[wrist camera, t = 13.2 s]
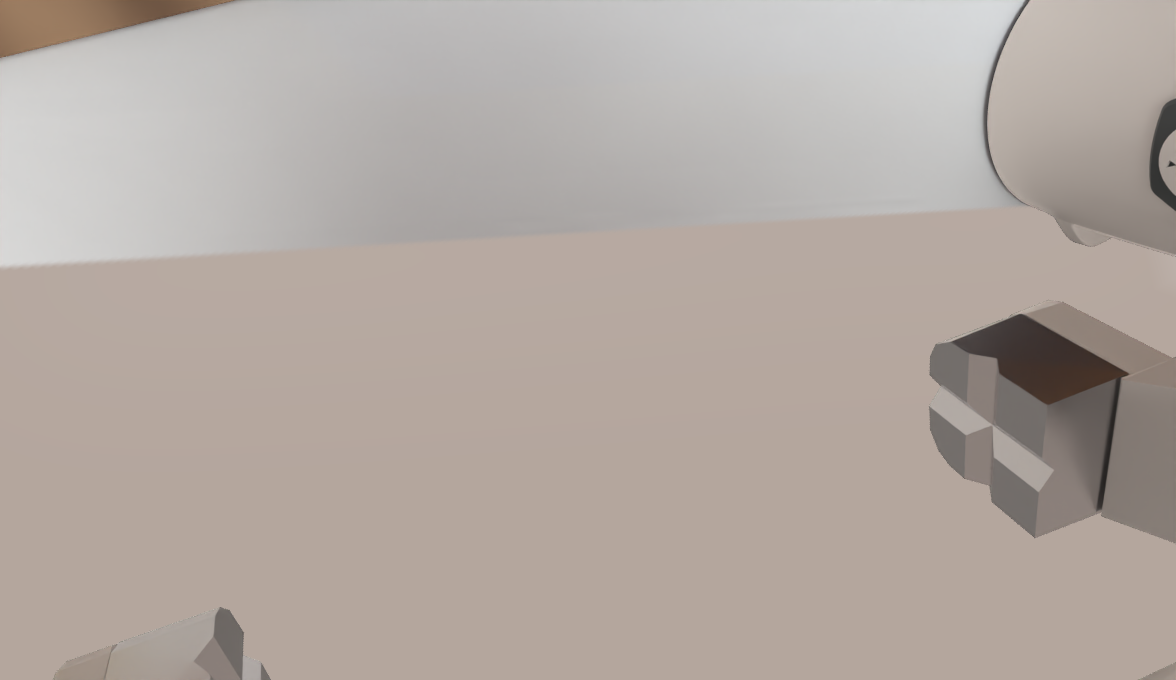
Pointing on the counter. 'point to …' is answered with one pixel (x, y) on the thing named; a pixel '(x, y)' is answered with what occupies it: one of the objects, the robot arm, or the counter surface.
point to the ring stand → (78, 19)
